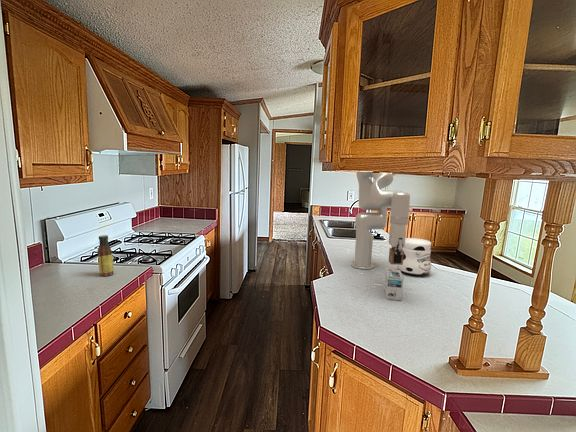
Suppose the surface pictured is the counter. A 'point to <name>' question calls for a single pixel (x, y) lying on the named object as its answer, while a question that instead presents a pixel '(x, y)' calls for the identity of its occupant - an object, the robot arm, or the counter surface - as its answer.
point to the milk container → (416, 257)
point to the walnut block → (391, 256)
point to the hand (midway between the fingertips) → (395, 260)
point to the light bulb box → (394, 284)
